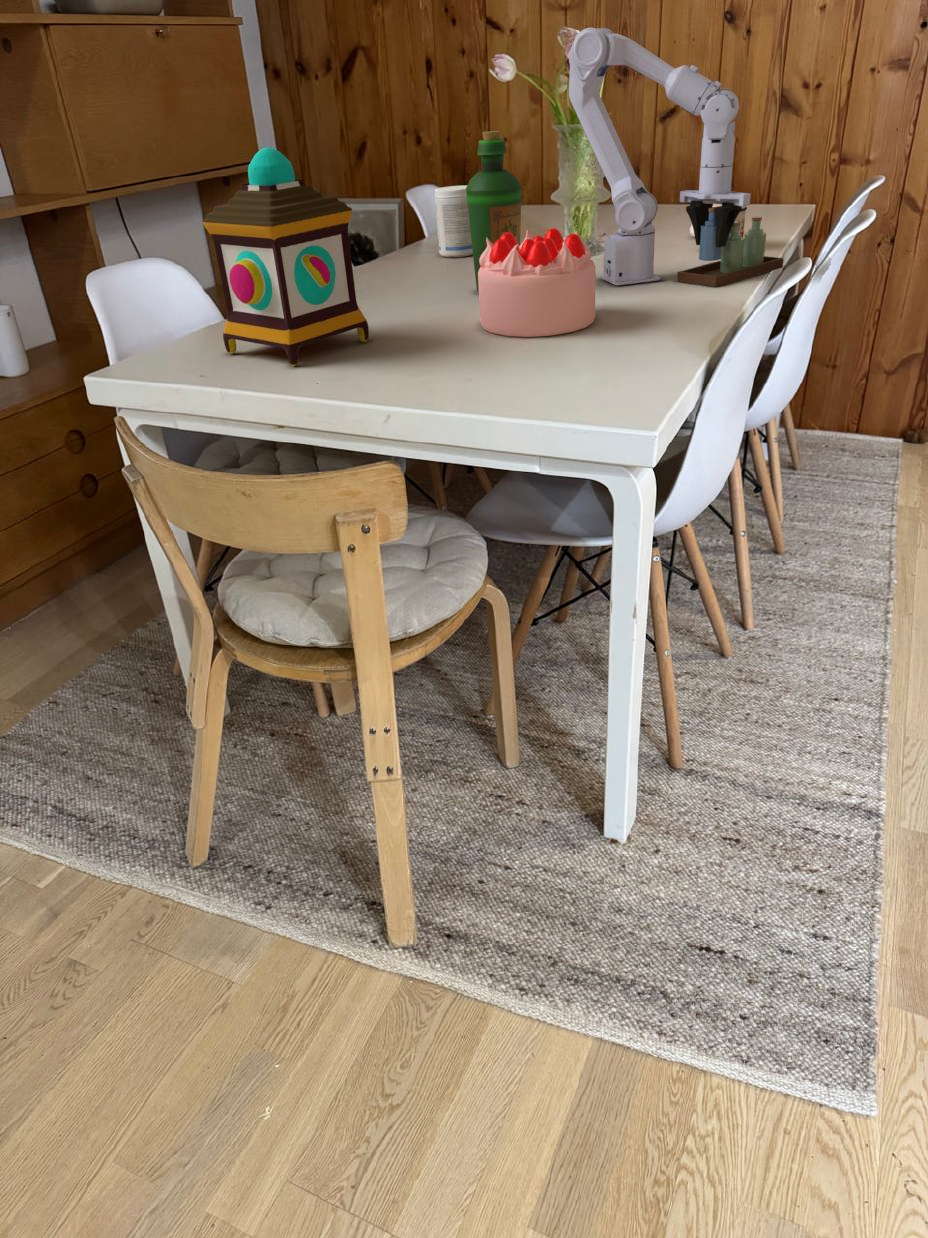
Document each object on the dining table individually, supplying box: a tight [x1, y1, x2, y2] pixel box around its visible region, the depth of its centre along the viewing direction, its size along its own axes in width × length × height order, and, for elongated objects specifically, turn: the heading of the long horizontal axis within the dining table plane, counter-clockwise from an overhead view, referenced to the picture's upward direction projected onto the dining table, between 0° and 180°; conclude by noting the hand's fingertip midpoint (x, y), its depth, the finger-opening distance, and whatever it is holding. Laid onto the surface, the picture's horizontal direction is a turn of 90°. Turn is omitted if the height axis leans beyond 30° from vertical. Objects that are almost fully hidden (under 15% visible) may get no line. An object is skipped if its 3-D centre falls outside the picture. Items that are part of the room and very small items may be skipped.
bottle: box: [466, 130, 522, 293], centre depth 172 cm, size 11×11×28 cm
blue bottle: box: [698, 207, 722, 262], centre depth 171 cm, size 4×4×9 cm
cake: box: [478, 227, 597, 338], centre depth 152 cm, size 20×20×14 cm
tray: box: [676, 255, 785, 288], centre depth 178 cm, size 21×9×2 cm, turn 129°
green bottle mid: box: [720, 222, 745, 273], centre depth 176 cm, size 4×4×9 cm
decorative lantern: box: [202, 146, 370, 367], centre depth 144 cm, size 20×20×30 cm
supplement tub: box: [434, 184, 473, 258], centre depth 214 cm, size 10×10×15 cm
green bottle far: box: [742, 215, 767, 267], centre depth 180 cm, size 4×4×9 cm
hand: (710, 245), depth 172 cm, fingers closed on blue bottle, 4 cm apart
